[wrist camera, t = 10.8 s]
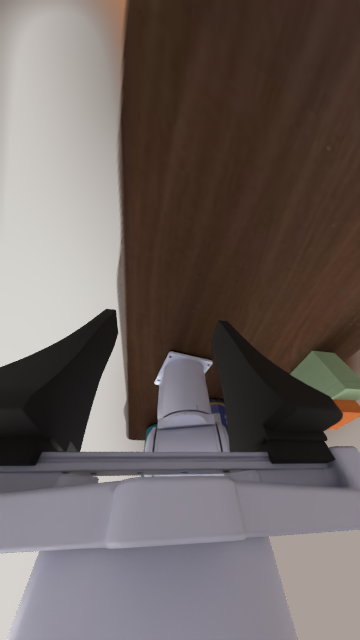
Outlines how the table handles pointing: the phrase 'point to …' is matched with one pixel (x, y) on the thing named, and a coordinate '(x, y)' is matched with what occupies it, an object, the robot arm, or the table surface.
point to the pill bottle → (219, 411)
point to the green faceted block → (328, 376)
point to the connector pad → (347, 412)
